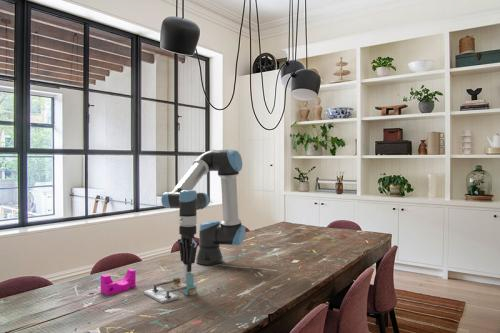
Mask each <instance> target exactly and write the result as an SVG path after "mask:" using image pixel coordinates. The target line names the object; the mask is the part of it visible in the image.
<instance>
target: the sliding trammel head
mask: <svg viewBox="0 0 500 333" xmlns="http://www.w3.org/2000/svg"><path fill="white" fill-rule="evenodd" d="M194 274H195V273H192V272H191V273H189V274H186V279H185V280H186V282H185V284H186V285H184V286H183V287H179V288H175V289H174V288H172V289H166V290H167V291H166V293H167V297H169V293H170V292H171V293H173V292H177V291H179V290H181V289H183V292H182V293H183V295H186V296H189V295H188V289H192V288H195V289H196V294H197V291H198V290H197V289H198V288H197V284H194V280H195V279H194Z"/></svg>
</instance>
